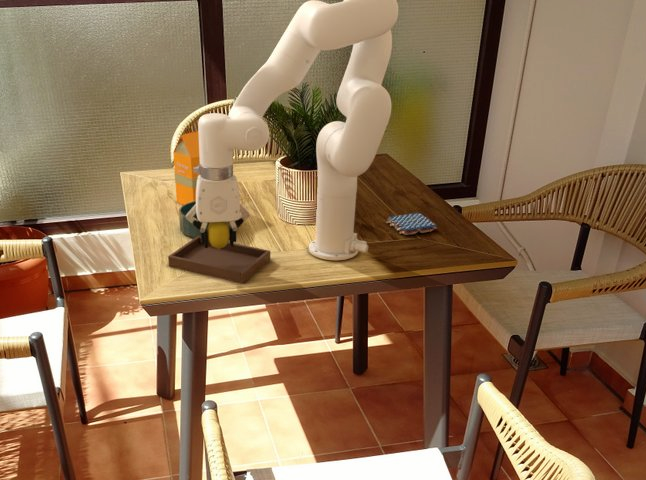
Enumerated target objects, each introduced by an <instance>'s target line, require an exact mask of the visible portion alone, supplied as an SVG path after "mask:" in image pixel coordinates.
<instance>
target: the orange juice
mask: <svg viewBox="0 0 646 480" xmlns="http://www.w3.org/2000/svg"><path fill="white" fill-rule="evenodd" d="M172 153H173V167H174V168H173V169H174V184H175V193H176V194H175V195H176V203H178V204H181V205H182V206H183V205H184V204H187V203H190V202H193V201H196V185H197V178H198V176H199V173H194V167H197V166H199V165H200V156H199V133H198V130H195V131H191V132H187V133H182V134H180V136H179V138H178V141H177V143H176V145H175V147H174V150H173V151H172Z"/></svg>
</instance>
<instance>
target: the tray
mask: <svg viewBox="0 0 646 480" xmlns="http://www.w3.org/2000/svg"><path fill="white" fill-rule="evenodd" d="M167 259H168V260H167V261H168V267H172V268H175V269H180V270H184V271H189V272H194V273H197V274H202V275H205V276H210V277H215V278H219V279H223V280H227V281H232V282H236V283H240V284H245V283H246V282H247V281H249V279H251V278H252V277H254V275H255V274H257V273H258V272H259V271H260V270H261V269H262V268H264V267H265V266H266V265H267V264H268V263H269V262H270V261H271V250H268V249H265V248H264V249H263V248H260V247H256V246H255V247H254V246H249V245H245V244H240V243H236V242H234V247H231V246H230V241H229V242H228V244H227V245H226V246H225V247H223V248H221V249H220V250H218V249H217V248H215V247H213V246H211V245H210V243H209V242H208V247H207V248H205V246H204V243H203V244H202V243H201V236H197V237H196V238H193V239H191V240H189V241H188V242H187V243H185V244H184V245H182V246H181V247H179V248H178V249H177V250H175V251H174V252H172V253H170V254H169V255H167Z"/></svg>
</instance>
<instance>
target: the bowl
mask: <svg viewBox="0 0 646 480" xmlns="http://www.w3.org/2000/svg"><path fill="white" fill-rule="evenodd" d="M195 204H196V201H193V202H190V203H187V204H184V205H183V204H182V205H181V206H180V207H179V209H178V217H179V218H178V219H179V228H180V229H179V230H180V232H181V233H182V234H183V235H186V236H188V237H190V238H193V239H194V238H196V237H197V236H201V232H200V230H199V229H198V228H196V227H195V226H194V225H193V224H192V223H191V222H189V221H188V220H187V219H186V214H187V213H188V212H189V211H190V210H191V209H192V207H193V206H194V205H195ZM193 217H194V218H195V219H197V214H195V215H194V216H193ZM197 220H198V219H197ZM198 221H199V220H198ZM226 223H227V224H228V227H229V228H230V225H231V224H230V222H226ZM209 224H210V222H208V223H207V226H206V229H207V228H208V225H209Z"/></svg>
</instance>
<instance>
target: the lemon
mask: <svg viewBox="0 0 646 480" xmlns="http://www.w3.org/2000/svg"><path fill="white" fill-rule="evenodd" d="M207 237H208V242H209V243H210V245H211V246H213V247H215V248H217V249H218V250H220V249H221V248H223V247H225V246H226V245H227V244H228V242H230V241H229V239H230V230H229V227H228V224H227V223H226V222H210V224H209V225H208V228H207Z"/></svg>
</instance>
